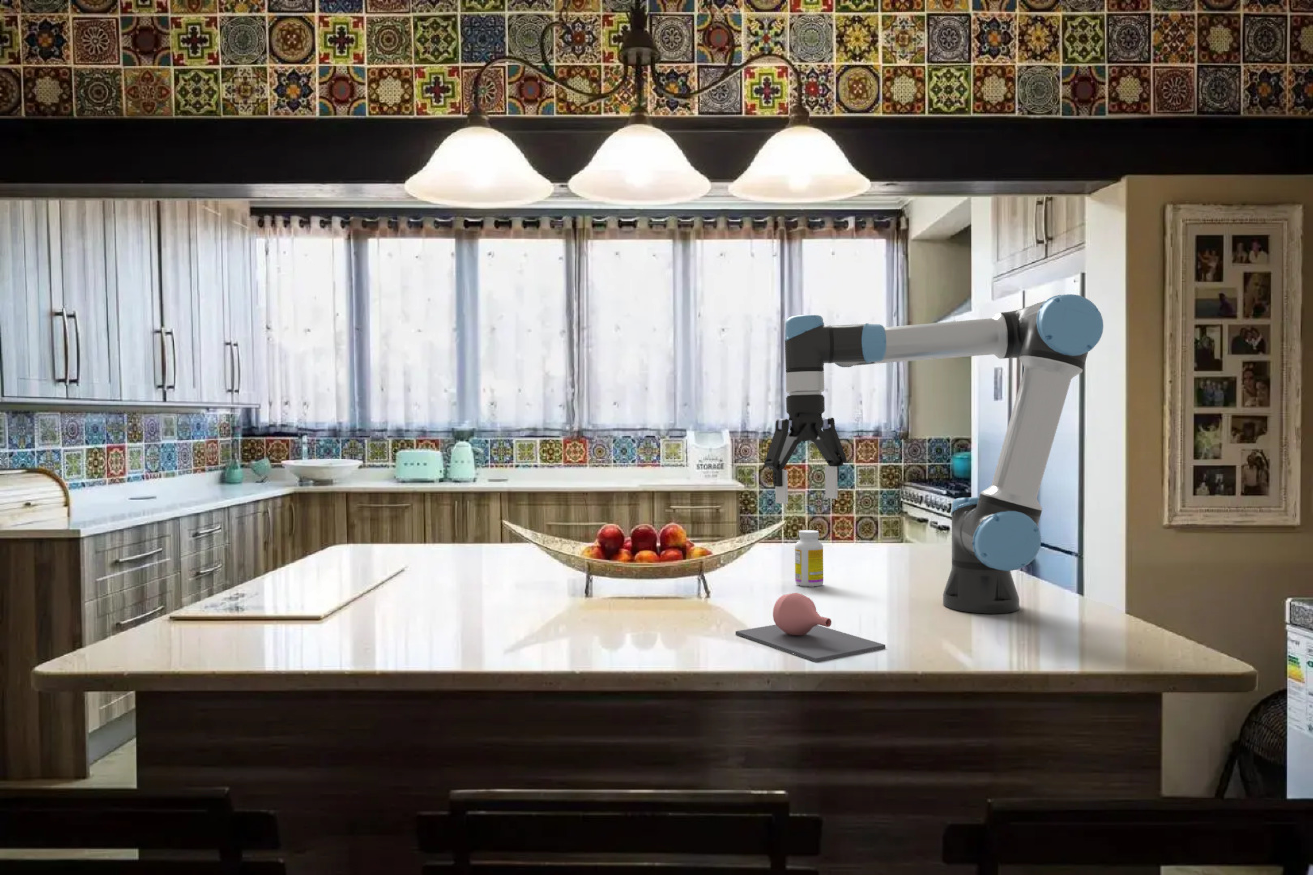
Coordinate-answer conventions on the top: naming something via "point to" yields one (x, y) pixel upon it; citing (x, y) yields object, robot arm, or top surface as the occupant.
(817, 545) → the supplement bottle
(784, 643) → the mat
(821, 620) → the pink vase
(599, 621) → the top surface
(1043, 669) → the top surface
